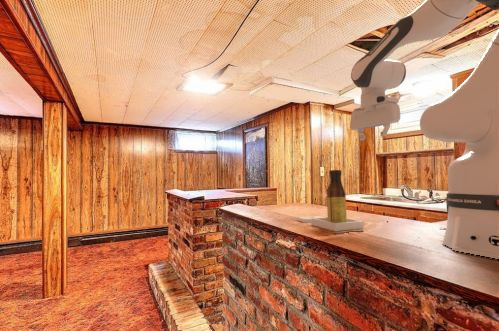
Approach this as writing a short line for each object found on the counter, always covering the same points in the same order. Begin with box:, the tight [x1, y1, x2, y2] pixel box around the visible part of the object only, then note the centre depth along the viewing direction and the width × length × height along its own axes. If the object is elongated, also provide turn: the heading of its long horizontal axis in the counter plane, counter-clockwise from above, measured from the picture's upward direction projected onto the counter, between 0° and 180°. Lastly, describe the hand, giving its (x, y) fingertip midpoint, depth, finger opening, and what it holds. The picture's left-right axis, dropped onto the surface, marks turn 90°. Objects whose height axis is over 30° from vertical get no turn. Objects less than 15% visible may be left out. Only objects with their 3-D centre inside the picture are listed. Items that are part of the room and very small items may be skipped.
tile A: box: [310, 215, 325, 218], centre depth 100 cm, size 5×5×1 cm
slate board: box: [291, 218, 312, 224], centre depth 100 cm, size 10×12×1 cm
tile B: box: [296, 216, 312, 223], centre depth 98 cm, size 5×5×1 cm
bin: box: [311, 216, 365, 236], centre depth 87 cm, size 12×13×4 cm
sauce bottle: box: [326, 169, 348, 223], centre depth 88 cm, size 6×6×20 cm
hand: (373, 138), depth 99 cm, fingers open, 8 cm apart
